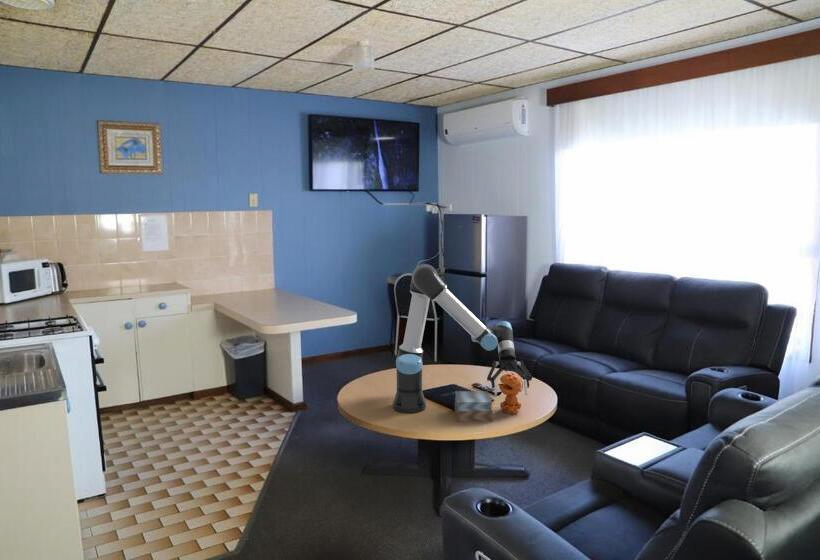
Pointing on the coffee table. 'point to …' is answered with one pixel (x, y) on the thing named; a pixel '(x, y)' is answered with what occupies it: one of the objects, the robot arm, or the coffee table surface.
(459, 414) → the grey square block
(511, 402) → the orange figurine
